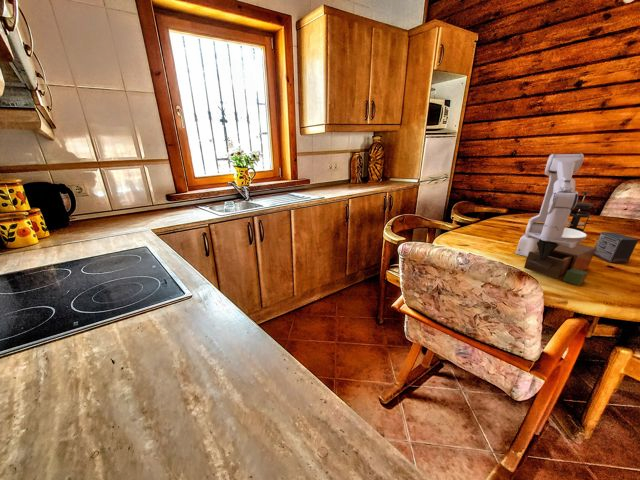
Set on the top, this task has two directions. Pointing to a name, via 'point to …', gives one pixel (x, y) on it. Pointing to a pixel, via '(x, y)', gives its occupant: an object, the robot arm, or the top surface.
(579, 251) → the cabinet
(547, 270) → the drawer
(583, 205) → the french press
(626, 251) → the small box
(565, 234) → the serving bowl
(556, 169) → the robot arm
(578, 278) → the block
